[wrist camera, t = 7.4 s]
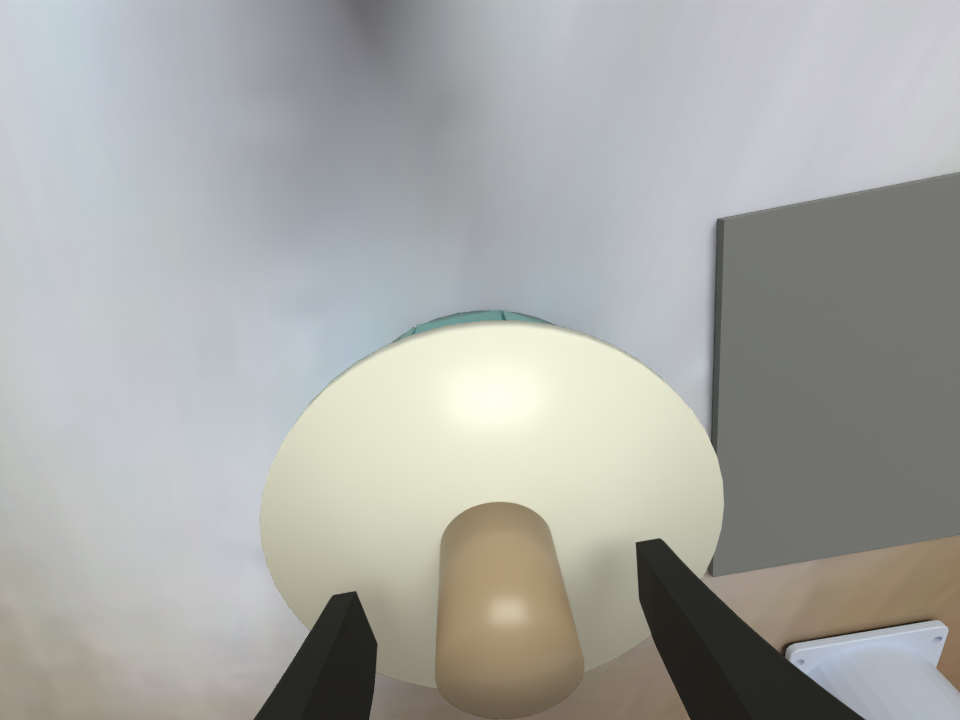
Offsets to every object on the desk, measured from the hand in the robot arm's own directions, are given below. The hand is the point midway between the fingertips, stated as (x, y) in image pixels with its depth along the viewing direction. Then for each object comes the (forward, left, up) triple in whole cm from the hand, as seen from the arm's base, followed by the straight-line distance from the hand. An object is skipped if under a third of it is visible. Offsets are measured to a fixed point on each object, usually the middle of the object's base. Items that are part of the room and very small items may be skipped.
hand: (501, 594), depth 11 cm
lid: (0, 0, -2) cm, 2 cm away
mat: (-1, -17, -7) cm, 18 cm away
